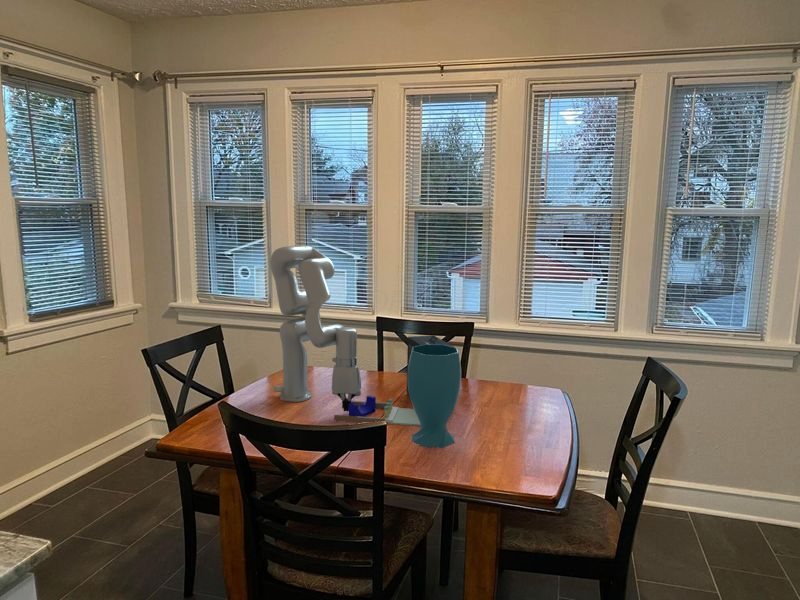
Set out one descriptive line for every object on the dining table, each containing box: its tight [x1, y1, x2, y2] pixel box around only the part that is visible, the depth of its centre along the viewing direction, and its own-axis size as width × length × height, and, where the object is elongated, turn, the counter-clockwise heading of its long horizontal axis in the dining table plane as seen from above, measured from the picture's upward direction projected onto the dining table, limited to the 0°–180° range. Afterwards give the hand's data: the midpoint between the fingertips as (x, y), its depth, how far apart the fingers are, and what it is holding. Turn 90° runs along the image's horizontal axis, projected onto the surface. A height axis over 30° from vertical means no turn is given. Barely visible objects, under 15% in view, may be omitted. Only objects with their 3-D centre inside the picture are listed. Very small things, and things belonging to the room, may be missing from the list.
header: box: [333, 398, 421, 427], centre depth 201 cm, size 33×17×5 cm, turn 81°
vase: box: [408, 344, 462, 449], centre depth 179 cm, size 17×17×30 cm
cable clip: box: [348, 394, 377, 417], centre depth 201 cm, size 12×4×6 cm, turn 146°
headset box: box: [406, 334, 454, 395], centre depth 217 cm, size 22×12×26 cm, turn 19°
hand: (346, 410), depth 203 cm, fingers closed
